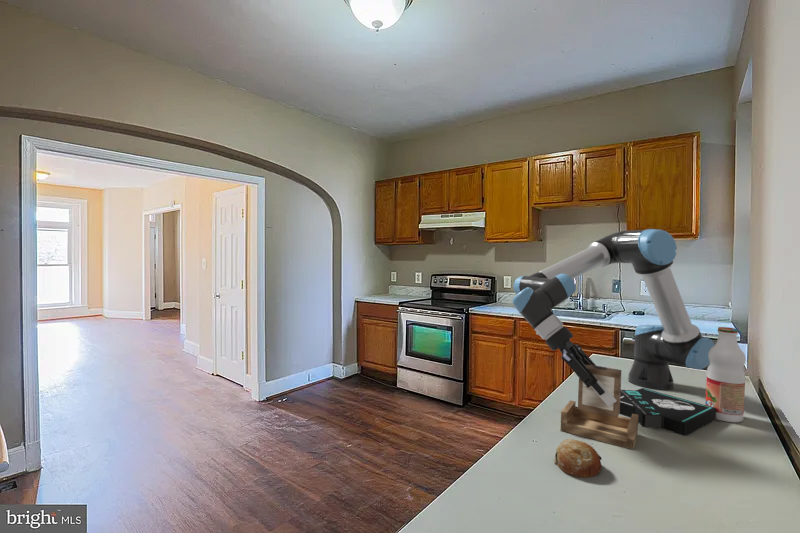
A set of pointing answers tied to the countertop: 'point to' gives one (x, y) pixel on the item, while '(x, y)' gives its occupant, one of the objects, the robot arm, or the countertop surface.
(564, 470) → the bread roll
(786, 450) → the countertop surface
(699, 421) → the wall plaque
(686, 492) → the countertop surface
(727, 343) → the fruit juice
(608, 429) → the wooden tray
